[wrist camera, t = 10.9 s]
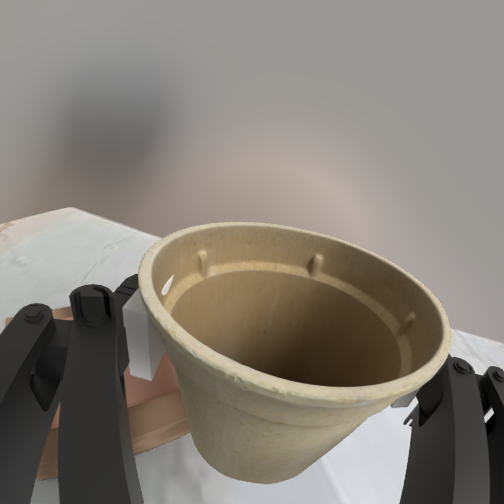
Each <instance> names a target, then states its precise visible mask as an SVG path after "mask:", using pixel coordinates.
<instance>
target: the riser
mask: <svg viewBox="0 0 504 504" xmlns="http://www.w3.org/2000/svg"><path fill="white" fill-rule="evenodd" d="M52 313H53V318H54V319H63V320H74V319H73V314H72V309H71V306H70V307H65V308H60V309H55V310H52ZM13 318H14V317H11V318H6V327H7V325H8V324H9V323H10V321H11V320H12V319H13ZM124 378H125V387H126V399H127V409H128V418H129V426H130V433H131V440H132V447H133V453H134V455H136V454H139V453H142V452H144V451H147V450H150V449H152V448H155V447H157V446H160V445H162V444H165V443H167V442H169V441H172V440H174V439H176V438H179V437H181V436H183V435H185V434H188V433H190V432H191V430H190V426H189V422H188V419H187V415H186V411H185V407H184V403H183V399H182V395H181V391H180V387H179V383H178V379H177V374H176V370H175V365H174V361H173V360H172V358H171V357H170V355H169V353H168V352H167V350H165V353H164V355H163V357H162V359H161V361H160V364H159V366H158V368H157V370H156V372H155V375H154V377H153V379H152V381H150V380H146V379H143V378H139V377H136V376H133V375H131V374H130V368H129V364H128V366H127V368H126V370H125V371H124ZM59 412H60V403H59V406H58V409H57V411H56V414H55V417H54V420H53V422H52V425H51V428H50V431H49V434H48V437H47V440H46V443H45V447H44V450H43V453H42V457H41V460H40V464H39V467H38V471H37V475H36V477H37V478H38V479H39V480H46V479H51V478H56V477H58V427H59Z"/></svg>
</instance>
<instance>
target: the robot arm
mask: <svg viewBox="0 0 504 504" xmlns="http://www.w3.org/2000/svg"><path fill="white" fill-rule="evenodd" d="M173 276H174V275H173ZM173 276H172V277H171V278H170V279H169V280H168V281H167V283H166V284H165V286H164V287H163V290H162V292H161V294H162V295H166V294H167V292H168V290H169V288H170V285H171V283H172V280H173ZM69 297H70V303H71V309H72V314H73V319H74V320H63V319H54V318H53V313H52V309H51V308H50V307H49V306H47V305H44V304H38V303H35V304H29V305H27V306H25V307H23V308H22V309H21V310H20V311H19V312H18V313H17V314H16V315H15V316H14V318H13V319H12V320H11V321H10V323H9V324H8V325H7V327H6V328H5V329H4V330H3V332H2V333H1V334H0V504H30V501H31V496H32V492H33V487H34V483H35V479H36V475H37V471H38V467H39V464H40V460H41V457H42V453H43V450H44V447H45V443H46V440H47V437H48V434H49V431H50V428H51V425H52V422H53V420H54V417H55V414H56V411H57V409H58V406H59V403H60V412H59V427H58V481H59V496H60V504H144V501H143V497H142V493H141V488H140V484H139V479H138V474H137V469H136V464H135V459H134V453H133V447H132V440H131V433H130V426H129V418H128V409H127V399H126V387H125V378H124V371H125V370H126V368H127V366H128V364H129V368H130V374H131V375H133V376H136V377H139V378H143V379H146V380H150V381H152V379H153V377H154V375H155V372H156V370H157V368H158V366H159V364H160V361H161V359H162V357H163V355H164V353H165V350H166V348H165V346H164V344H163V341H162V339H161V335H160V331H159V330H158V329H157V327H156V326H155V325H154V324H153V322H152V320H151V319H150V317H149V316H148V314H147V312H146V310H145V308H144V305H143V303H142V300H141V296H140V290H139V286H138V274H135V275H133V276H131V277H129V278H126V279H125V281H124V282H123V283H122V284H121V285H120V286H119V287H118V288H117V289H116V290H115V292H113V293H112V291H111V290H110V289H109V288H107V287H105V286H102V285H95V284H91V285H84V286H81V287H78V288H76V289H75V290H73V291H72V293H71V294H70V296H69ZM415 396H416V397H417V400H418V402H419V403H418V404H417V406H416V407H415V408H414V409H413V411H412V412H411V413H410V414H409V416H408V417H407V418H406V419H405V421H404V423H403V424H404V425H406V424H407V423H408V421H409V420H410V419H413V420H412V422H411V423H410V425H409V426H411V427H412V432H411V441H410V449H409V456H408V463H407V469H406V475H405V480H404V486H403V490H402V495H401V499H400V504H504V371H503V370H502V369H501V368H499V367H495V366H490V367H489V368H488V369H487V371H486V372H485V374H484V375H483V376H482V375H478V374H475V372H474V370H473V368H472V366H471V365H470V364H469V363H468V362H466V361H465V360H463V359H461V358H457V357H451V356H450V354H449V353H448V356H447V358H446V360H445V362H444V363H443V365H442V366H441V368H440V369H439V370H438V372H437V373H436V374H435V375H434V376H433V377H432V378H431V379H430V380H429V381H428V382H426V383H425V384H424V385H422V386H421V387H420V388H418V389H417V390H415V391H413V392H411V393H409V394H407V395H405V396H402V397H400V398H398V399H396V400H395V401H394V402H393V403H392V404H390V405H391V407H392V408H398V407H408V406H409V404H410V403H411V402H412V400H413V399H414V398H415ZM491 408H492V409H493V411H494V414H493V415H492V416H491V417H490V419H489V420H488V421H487V422H486V423H485V421H484V416H485V415H486V414H487V413H488V412H489V410H490V409H491Z"/></svg>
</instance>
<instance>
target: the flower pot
mask: <svg viewBox="0 0 504 504" xmlns="http://www.w3.org/2000/svg"><path fill="white" fill-rule="evenodd" d="M173 275H174V276H173ZM172 276H173V280H172V283H171V285H170V288H169V290H168V292H167V294H166V295H162V294H161V292H162V290H163V287H164V286H165V284H166V283H167V281H168V280H169V279H170V278H171V277H172ZM138 286H139V290H140V296H141V300H142V303H143V305H144V308H145V310H146V312H147V314H148V316H149V317H150V319H151V320H152V322H153V324H154V325H155V326H156V327H157V329H158V330H159V331H160V335H161V339H162V341H163V344H164V346H165V348H166V350H167V352H168V353H169V355H170V357H171V358H172V360H173V361H174V365H175V370H176V374H177V379H178V383H179V387H180V391H181V395H182V399H183V403H184V407H185V411H186V415H187V419H188V422H189V426H190V430H191V435H192V438H193V441H194V444H195V446H196V448H197V450H198V452H199V453H200V454H201V456H202V457H203V458H204V459H205V461H206V462H207V463H208V464H209V465H210V466H212V467H213V468H214V469H216V470H217V471H218V472H220V473H222V474H223V475H225V476H227V477H230V478H233V479H237V480H242V481H246V482H252V483H260V484H272V483H278V482H281V481H285V480H288V479H290V478H293V477H295V476H297V475H299V474H300V473H302V472H303V471H304V470H306V469H307V468H308V467H309V466H310V465H312V464H313V463H314V462H316V461H317V460H318V459H319V458H321V457H322V456H323V455H325V454H326V453H327V452H328V451H330V450H331V449H332V448H333V447H335V446H336V445H337V444H338V443H340V442H341V441H342V440H343V439H345V438H346V437H347V436H348V435H349V434H351V433H352V432H353V431H354V430H355V429H356V428H357V427H358V426H359V425H361V424H362V423H363V422H364V421H365V420H366V419H367V418H368V417H370V416H372V415H374V414H376V413H378V412H380V411H382V410H383V409H385V408H386V407H388V406H389V405H390V404H392V403H393V402H394V401H395V400H396V399H398V398H400V397H402V396H405V395H407V394H409V393H411V392H413V391H415V390H417V389H418V388H420V387H421V386H422V385H424V384H425V383H426V382H428V381H429V380H430V379H431V378H432V377H433V376H434V375H435V374H436V373H437V372H438V370H439V369H440V368H441V366H442V365H443V363H444V362H445V360H446V358H447V356H448V353H449V351H450V347H451V339H452V332H451V327H450V325H449V322H448V317H447V315H446V313H445V310H444V309H443V307H442V305H441V304H440V302H439V301H438V300H437V299H436V297H435V296H434V295H433V293H432V292H431V291H430V290H429V289H428V288H426V286H425V285H423V284H422V283H421V282H420V281H418V280H416V278H415V277H414V276H412V275H411V274H410V273H408V272H406V271H404V270H403V269H402V268H400V267H399V266H397V265H396V264H394V263H393V262H390V261H389V260H387V259H385V258H383V257H381V256H379V255H377V254H375V253H373V252H370V251H368V250H366V249H364V248H362V247H359V246H356V245H354V244H352V243H349V242H346V241H343V240H341V239H338V238H335V237H331V236H328V235H324V234H321V233H316V232H312V231H308V230H304V229H299V228H294V227H289V226H282V225H276V224H265V223H256V222H223V223H210V224H205V225H199V226H194V227H190V228H186V229H182V230H179V231H177V232H175V233H172V234H170V235H168V236H166V237H164V238H163V239H161V240H159V241H158V242H157V243H155V244H154V245H153V246H152V247H151V248H150V249H149V250H148V251H147V252H146V253H145V254H144V257H143V258H142V260H141V262H140V265H139V271H138Z"/></svg>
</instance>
